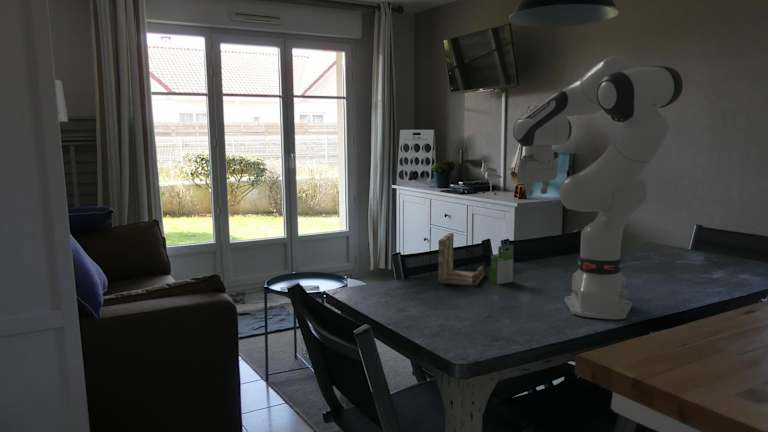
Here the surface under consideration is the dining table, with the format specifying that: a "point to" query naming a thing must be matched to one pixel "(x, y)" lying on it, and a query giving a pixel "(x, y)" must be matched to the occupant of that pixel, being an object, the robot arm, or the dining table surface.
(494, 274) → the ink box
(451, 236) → the board
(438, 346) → the dining table surface
